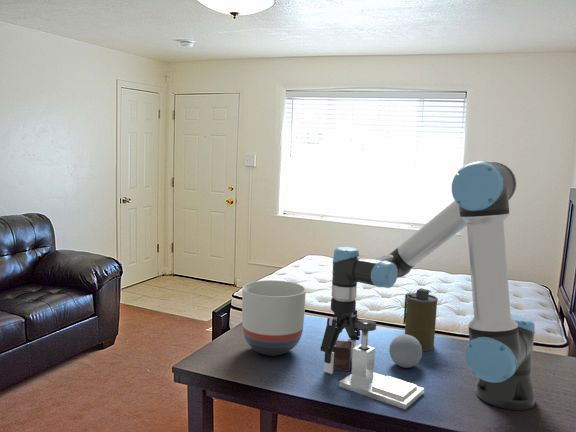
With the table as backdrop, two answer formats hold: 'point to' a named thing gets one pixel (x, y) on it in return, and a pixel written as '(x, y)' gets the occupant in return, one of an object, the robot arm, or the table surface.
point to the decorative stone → (405, 350)
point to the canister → (421, 317)
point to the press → (378, 381)
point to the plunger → (365, 330)
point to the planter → (273, 315)
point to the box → (342, 355)
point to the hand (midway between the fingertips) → (339, 365)
